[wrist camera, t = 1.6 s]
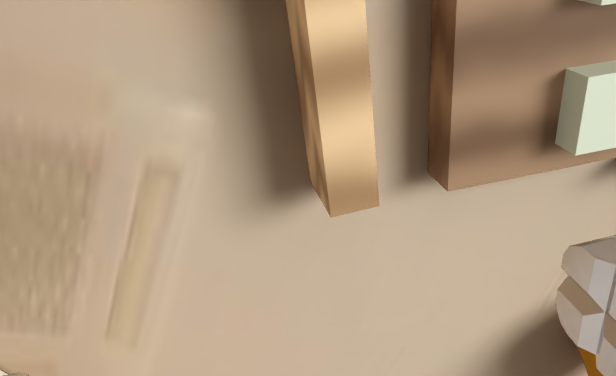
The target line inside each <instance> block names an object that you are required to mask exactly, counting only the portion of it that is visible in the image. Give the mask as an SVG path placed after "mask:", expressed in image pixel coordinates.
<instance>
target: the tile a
mask: <svg viewBox="0 0 616 376" xmlns="http://www.w3.org/2000/svg"><path fill="white" fill-rule="evenodd" d="M555 144H557V145H558V146H560V147H562V148H563V149H565V150H567V151H568V152H570V153H572V154H574V155H575V156H576V155H581V154H586V153H591V152H596V151H601V150H606V149H611V148H616V60H614V61H608V62H602V63H596V64H590V65H584V66H578V67H572V68H566V73H565V79H564V86H563V93H562V100H561V106H560V113H559V120H558V126H557V133H556V140H555Z"/></svg>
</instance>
